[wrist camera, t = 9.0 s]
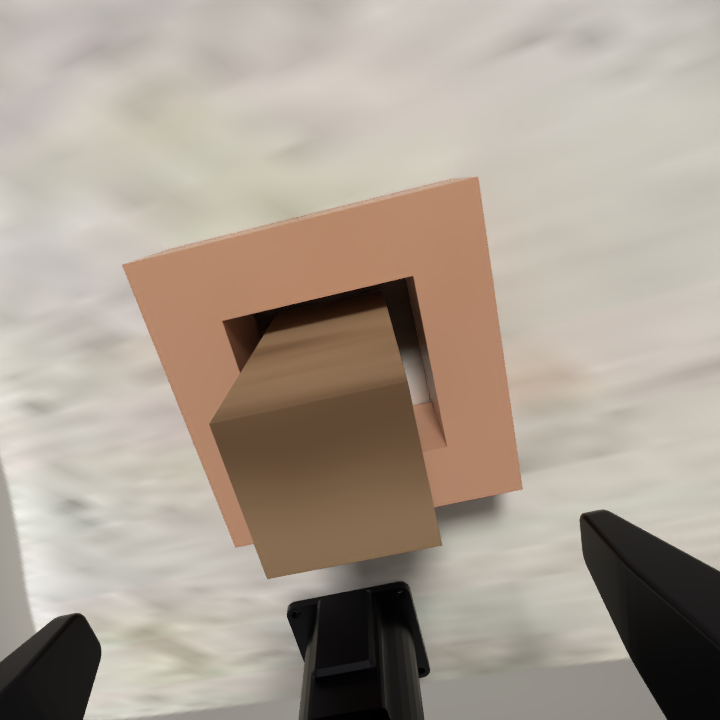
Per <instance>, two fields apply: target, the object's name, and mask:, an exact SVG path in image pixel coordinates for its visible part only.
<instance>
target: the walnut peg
mask: <svg viewBox="0 0 720 720" xmlns="http://www.w3.org/2000/svg"><path fill="white" fill-rule="evenodd" d="M209 425H210V428H211V431H212V433H213V436H214V439H215V441H216V444H217V447H218V449H219V452H220V455H221V457H222V460H223V463H224V465H225V468H226V471H227V473H228V476H229V479H230V481H231V484H232V487H233V489H234V492H235V495H236V497H237V500H238V503H239V505H240V508H241V511H242V513H243V516H244V519H245V521H246V524H247V527H248V529H249V532H250V535H251V537H252V540H253V543H254V545H255V548H256V551H257V553H258V556H259V559H260V561H261V564H262V566H263V569H264V572H265V574H266V577H267V579H270V578H275V577H281V576H286V575H291V574H296V573H301V572H307V571H312V570H317V569H322V568H327V567H333V566H338V565H343V564H348V563H353V562H359V561H364V560H369V559H374V558H379V557H385V556H390V555H395V554H400V553H405V552H411V551H416V550H421V549H426V548H431V547H437V546H442V542H441V537H440V532H439V528H438V523H437V518H436V514H435V509H434V504H433V499H432V495H431V490H430V485H429V481H428V476H427V471H426V466H425V462H424V457H423V452H422V448H421V443H420V438H419V433H418V429H417V424H416V419H415V415H414V410H413V405H412V400H411V396H410V391H409V386H408V382H407V378H406V374H405V371H404V367H403V363H402V360H401V356H400V352H399V349H398V345H397V342H396V338H395V334H394V331H393V327H392V323H391V320H390V316H389V313H388V309H387V305H386V302H385V298H384V294H383V291H382V290H377V291H373V292H368V293H364V294H360V295H355V296H351V297H347V298H342V299H338V300H334V301H329V302H325V303H320V304H316V305H312V306H307V307H303V308H299V309H294V310H290V311H286V312H281V313H277V314H276V316H275V317H274V319H273V321H272V322H271V324H270V326H269V327H268V329H267V330H266V332H265V334H264V335H263V337H262V339H261V340H260V342H259V343H258V345H257V347H256V348H255V350H254V352H253V353H252V355H251V357H250V358H249V360H248V361H247V363H246V365H245V366H244V368H243V370H242V371H241V373H240V374H239V376H238V378H237V379H236V381H235V383H234V384H233V386H232V387H231V389H230V391H229V392H228V394H227V396H226V397H225V399H224V401H223V402H222V404H221V405H220V407H219V409H218V410H217V412H216V414H215V415H214V417H213V418H212V420H211V422H210V423H209Z"/></svg>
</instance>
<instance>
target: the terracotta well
mask: <svg viewBox="0 0 720 720" xmlns="http://www.w3.org/2000/svg"><path fill="white" fill-rule="evenodd" d="M122 266H123V268H124V271H125V273H126V276H127V278H128V281H129V283H130V286H131V288H132V291H133V293H134V296H135V298H136V301H137V303H138V306H139V308H140V311H141V313H142V316H143V318H144V321H145V323H146V326H147V328H148V331H149V333H150V336H151V338H152V341H153V343H154V346H155V348H156V351H157V353H158V356H159V358H160V361H161V363H162V366H163V368H164V371H165V373H166V376H167V378H168V381H169V383H170V386H171V388H172V391H173V393H174V396H175V398H176V400H177V403H178V405H179V408H180V410H181V413H182V415H183V418H184V420H185V423H186V425H187V428H188V430H189V433H190V435H191V438H192V440H193V443H194V445H195V448H196V450H197V453H198V455H199V458H200V460H201V463H202V465H203V468H204V470H205V473H206V475H207V478H208V480H209V483H210V485H211V488H212V490H213V493H214V495H215V498H216V500H217V503H218V505H219V508H220V510H221V513H222V515H223V518H224V520H225V523H226V525H227V528H228V530H229V533H230V535H231V538H232V540H233V543H234V545H235V548H236V547H241V546H246V545H251V544H254V543H253V540H252V537H251V535H250V532H249V529H248V527H247V524H246V521H245V519H244V516H243V513H242V511H241V508H240V505H239V503H238V500H237V497H236V495H235V492H234V489H233V487H232V484H231V481H230V479H229V476H228V473H227V471H226V468H225V465H224V463H223V460H222V457H221V455H220V452H219V449H218V447H217V444H216V441H215V439H214V436H213V433H212V431H211V428H210V425H209V423H210V422H211V420H212V418H213V417H214V415H215V414H216V412H217V410H218V409H219V407H220V405H221V404H222V402H223V401H224V399H225V397H226V396H227V394H228V392H229V391H230V389H231V387H232V386H233V384H234V383H235V381H236V379H237V378H238V376H239V374H240V373H241V371H242V370H243V368H244V366H245V365H246V363H247V361H248V360H249V358H250V357H251V355H252V353H253V352H254V350H255V348H256V347H257V345H258V343H259V342H260V340H261V337H260V334H259V331H258V328H257V325H256V322H255V318H254V315H253V313H258V312H262V311H266V310H270V309H275V308H279V307H283V306H287V305H291V304H296V303H300V302H304V301H308V300H313V299H317V298H321V297H325V296H330V295H334V294H338V293H342V292H346V291H351V290H355V289H359V288H363V287H368V286H372V285H376V284H380V283H385V282H389V281H393V280H397V279H401V278H406V282H407V287H408V292H409V297H410V302H411V307H412V312H413V316H414V321H415V326H416V331H417V336H418V341H419V346H420V351H421V356H422V361H423V365H424V370H425V375H426V380H427V385H428V390H429V395H430V400H431V402H427V403H422V404H418V405H413V410H414V415H415V419H416V424H417V429H418V433H419V438H420V443H421V448H422V452H423V457H424V462H425V466H426V471H427V476H428V481H429V485H430V490H431V495H432V499H433V504H434V507H438V506H443V505H448V504H453V503H458V502H463V501H468V500H473V499H477V498H482V497H487V496H492V495H497V494H502V493H507V492H512V491H517V490H522V482H521V475H520V468H519V461H518V453H517V446H516V439H515V432H514V425H513V418H512V411H511V404H510V397H509V390H508V383H507V376H506V369H505V362H504V355H503V348H502V341H501V334H500V327H499V320H498V313H497V306H496V299H495V292H494V285H493V278H492V271H491V264H490V257H489V250H488V243H487V236H486V229H485V222H484V215H483V208H482V201H481V194H480V187H479V180H478V177H467V178H456V179H450V180H446V181H442V182H438V183H434V184H430V185H426V186H422V187H418V188H414V189H410V190H406V191H402V192H398V193H394V194H390V195H385V196H381V197H377V198H373V199H369V200H365V201H361V202H357V203H353V204H349V205H345V206H341V207H337V208H333V209H329V210H325V211H321V212H317V213H313V214H309V215H305V216H301V217H297V218H293V219H289V220H285V221H281V222H277V223H273V224H269V225H265V226H261V227H257V228H253V229H249V230H245V231H241V232H237V233H233V234H229V235H225V236H221V237H217V238H213V239H208V240H204V241H200V242H196V243H192V244H188V245H184V246H180V247H176V248H172V249H168V250H165V251H162V252H159V253H156V254H153V255H150V256H147V257H144V258H141V259H138V260H135V261H132V262H129V263H126V264H123V265H122Z"/></svg>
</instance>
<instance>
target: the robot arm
mask: <svg viewBox="0 0 720 720" xmlns="http://www.w3.org/2000/svg"><path fill="white" fill-rule="evenodd" d="M580 530H581V541H582V551H583V556H584V560H585V563H586V565H587V568H588V570H589V572H590V574H591V576H592V578H593V580H594V582H595V585H596V587H597V589H598V591H599V593H600V595H601V597H602V599H603V601H604V604H605V606H606V608H607V610H608V612H609V614H610V616H611V618H612V620H613V623H614V625H615V627H616V629H617V631H618V633H619V635H620V637H621V640H622V642H623V644H624V646H625V648H626V650H627V652H628V654H629V656H630V658H631V659H632V661H633V663H634V665H635V667H636V668H637V670H638V672H639V674H640V675H641V677H642V678H643V680H644V682H645V684H646V685H647V687H648V688H649V690H650V692H651V694H652V695H653V697H654V698H655V700H656V702H657V704H658V705H659V707H660V708H661V710H662V712H663V713H664V715H665V717H666V718H667V720H720V571H718V570H716V569H715V568H713V567H711V566H709V565H707V564H705V563H703V562H702V561H700V560H698V559H696V558H694V557H692V556H691V555H689V554H687V553H685V552H683V551H681V550H680V549H678V548H676V547H674V546H672V545H670V544H668V543H667V542H665V541H663V540H661V539H659V538H657V537H656V536H654V535H652V534H650V533H648V532H646V531H645V530H643V529H641V528H639V527H637V526H635V525H633V524H632V523H630V522H628V521H626V520H624V519H622V518H621V517H619V516H617V515H615V514H613V513H611V512H610V511H607V510H597V511H592V512H587V513H583V514H582V515H581V516H580ZM397 592H402V593H397ZM296 612H299V613H296ZM287 618H288V621H289V623H290V626H291V628H292V631H293V634H294V636H295V639H296V642H297V644H298V647H299V650H300V652H301V655H302V658H303V660H304V663H305V664H304V673H303V683H302V693H301V702H300V712H299V720H424V713H423V706H422V698H421V691H420V683H419V678H422V677H425V676H427V675H428V674H429V673H430V667H429V662H428V658H427V654H426V650H425V646H424V642H423V638H422V634H421V631H420V627H419V623H418V619H417V615H416V611H415V607H414V603H413V599H412V596H411V592H410V588H409V586H408V584H406V583H405V582H394V583H389V584H384V585H379V586H374V587H369V588H363V589H358V590H353V591H348V592H343V593H338V594H332V595H327V596H322V597H317V598H312V599H307V600H301V601H296V602H293V603H291V604H290V605H289V606H288V610H287ZM100 659H101V645H100V643H99V641H98V639H97V637H96V635H95V634H94V632H93V630H92V628H91V627H90V625H89V623H88V621H87V620H86V618H85V617H84V616H83V615H82V614H80V613H74V614H69V615H64V616H59V617H57V618H55V619H53V620H52V621H51V622H49V623H48V624H47V625H46V626H45V627H43V628H42V629H41V630H40V631H38V632H37V633H36V634H35V635H34V636H32V637H31V638H30V639H29V640H27V641H26V642H25V643H24V644H22V645H21V646H20V647H19V648H17V649H16V650H15V651H14V652H12V653H11V654H10V655H9V656H7V657H6V658H5V659H4V660H3V661H1V662H0V720H83V717H84V714H85V711H86V707H87V704H88V700H89V697H90V694H91V690H92V687H93V683H94V680H95V677H96V673H97V670H98V666H99V663H100Z"/></svg>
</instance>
